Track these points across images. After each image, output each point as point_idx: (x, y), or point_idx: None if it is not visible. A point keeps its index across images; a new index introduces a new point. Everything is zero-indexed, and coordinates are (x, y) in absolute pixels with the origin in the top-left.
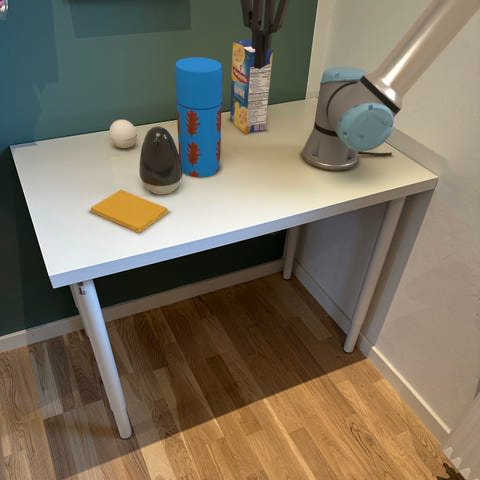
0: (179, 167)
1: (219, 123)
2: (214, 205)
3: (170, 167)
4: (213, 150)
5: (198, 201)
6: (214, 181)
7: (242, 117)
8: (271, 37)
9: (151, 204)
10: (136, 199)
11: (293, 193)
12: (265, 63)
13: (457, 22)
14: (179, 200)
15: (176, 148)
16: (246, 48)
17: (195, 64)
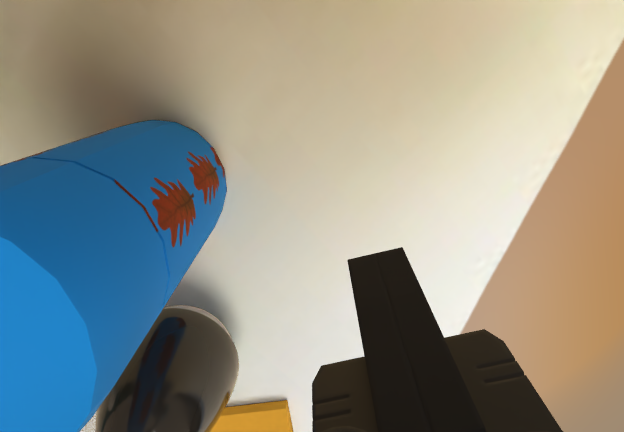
0: (223, 362)
1: (183, 207)
2: (346, 305)
3: (224, 404)
4: (211, 215)
5: (302, 318)
6: (257, 213)
7: None
8: (548, 414)
9: (246, 421)
10: None
11: (483, 95)
12: (404, 253)
13: None
14: (264, 346)
15: (189, 383)
16: None
17: None
